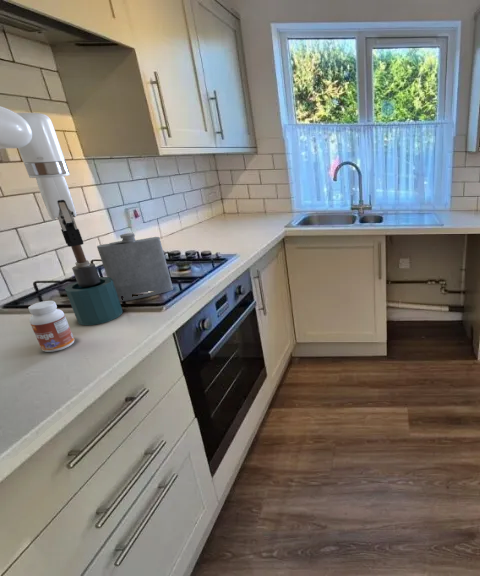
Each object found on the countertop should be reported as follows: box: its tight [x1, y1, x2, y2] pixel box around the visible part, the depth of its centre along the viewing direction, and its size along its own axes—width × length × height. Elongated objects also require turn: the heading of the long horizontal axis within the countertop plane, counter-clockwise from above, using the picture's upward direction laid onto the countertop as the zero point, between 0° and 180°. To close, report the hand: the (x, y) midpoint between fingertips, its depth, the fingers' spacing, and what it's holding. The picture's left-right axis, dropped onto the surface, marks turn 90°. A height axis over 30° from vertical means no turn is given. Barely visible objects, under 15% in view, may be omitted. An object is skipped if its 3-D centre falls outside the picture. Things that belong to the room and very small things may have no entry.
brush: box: [70, 245, 101, 287], centre depth 95 cm, size 5×5×17 cm
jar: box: [64, 276, 124, 326], centre depth 100 cm, size 10×10×10 cm
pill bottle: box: [27, 300, 75, 353], centre depth 85 cm, size 6×6×11 cm
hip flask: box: [96, 232, 174, 303], centre depth 111 cm, size 16×4×20 cm, turn 126°
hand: (75, 243), depth 93 cm, fingers closed on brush
